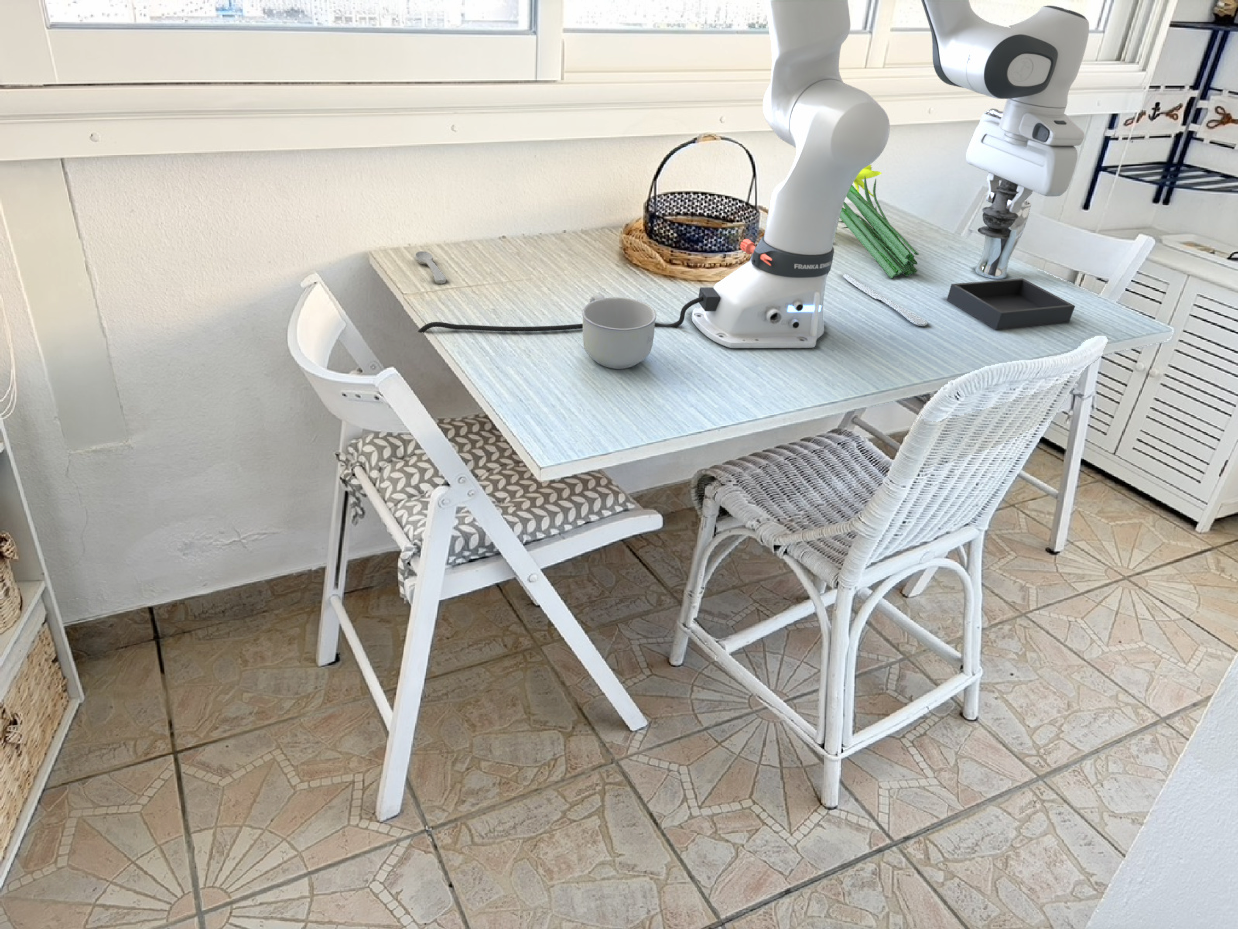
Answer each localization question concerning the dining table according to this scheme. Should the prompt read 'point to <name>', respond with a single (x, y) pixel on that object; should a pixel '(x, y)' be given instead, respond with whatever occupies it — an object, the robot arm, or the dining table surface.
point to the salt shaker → (999, 212)
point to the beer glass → (1002, 247)
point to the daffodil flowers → (877, 229)
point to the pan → (1010, 303)
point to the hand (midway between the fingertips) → (1002, 206)
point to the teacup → (618, 330)
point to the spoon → (428, 259)
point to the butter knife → (887, 302)
